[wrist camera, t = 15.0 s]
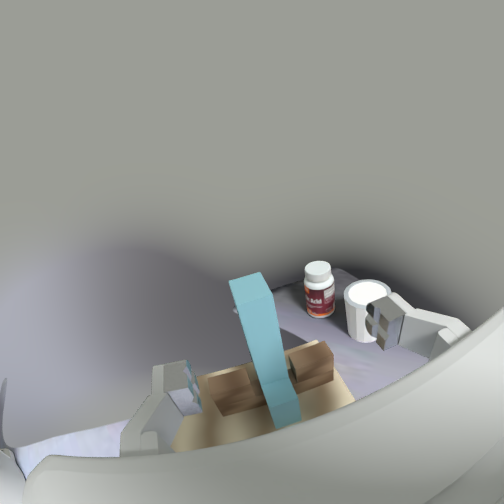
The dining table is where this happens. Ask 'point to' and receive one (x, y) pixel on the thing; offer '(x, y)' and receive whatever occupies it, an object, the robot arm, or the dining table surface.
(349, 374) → the dining table surface
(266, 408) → the jig board
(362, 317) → the white cup
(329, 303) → the pill bottle
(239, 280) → the angled bracket
